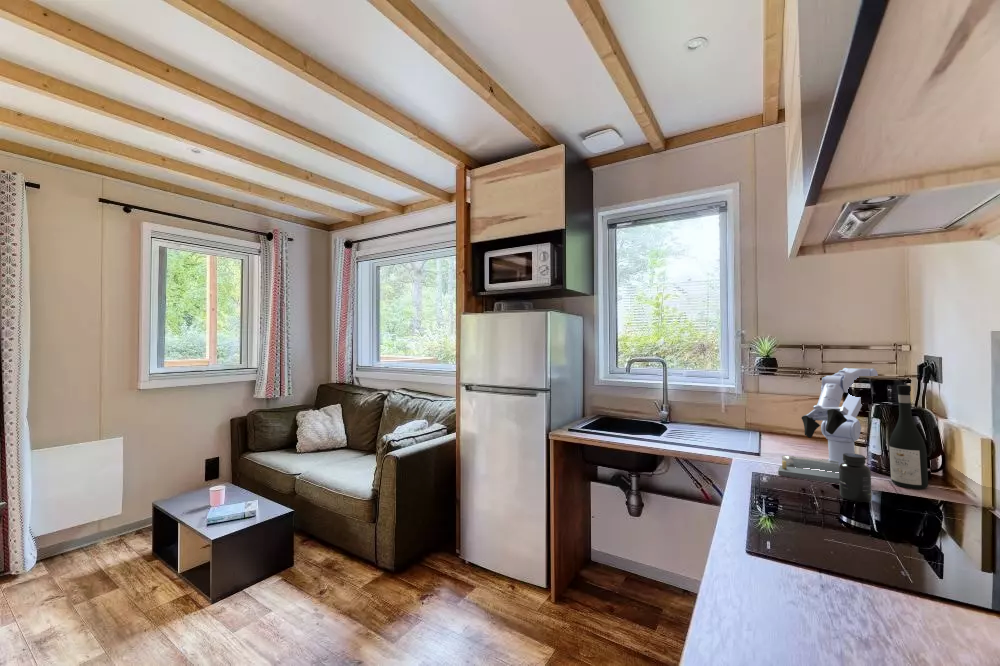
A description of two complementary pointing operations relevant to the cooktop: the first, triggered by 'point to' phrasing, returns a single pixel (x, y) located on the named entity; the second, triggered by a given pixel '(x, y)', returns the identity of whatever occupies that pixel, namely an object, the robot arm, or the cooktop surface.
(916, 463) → the wine bottle
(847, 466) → the supplement bottle
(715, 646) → the cooktop surface
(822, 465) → the grey long block
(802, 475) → the tool board
